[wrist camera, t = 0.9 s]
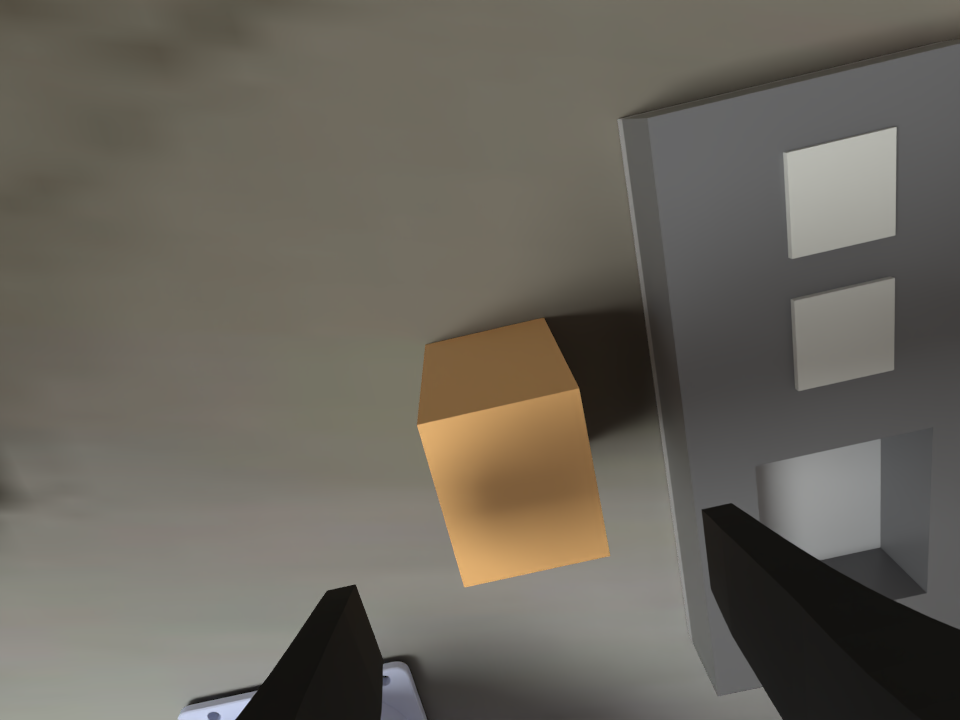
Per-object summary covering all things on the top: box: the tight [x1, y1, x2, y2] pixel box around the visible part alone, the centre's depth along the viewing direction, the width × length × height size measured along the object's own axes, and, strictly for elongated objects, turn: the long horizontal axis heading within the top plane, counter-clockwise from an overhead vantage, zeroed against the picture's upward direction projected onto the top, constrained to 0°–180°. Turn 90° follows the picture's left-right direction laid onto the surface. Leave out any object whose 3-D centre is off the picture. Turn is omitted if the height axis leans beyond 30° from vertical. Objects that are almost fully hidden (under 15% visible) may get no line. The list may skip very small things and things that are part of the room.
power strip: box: [617, 39, 960, 696], centre depth 21 cm, size 10×20×3 cm, turn 13°
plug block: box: [417, 318, 610, 587], centre depth 19 cm, size 4×5×6 cm
